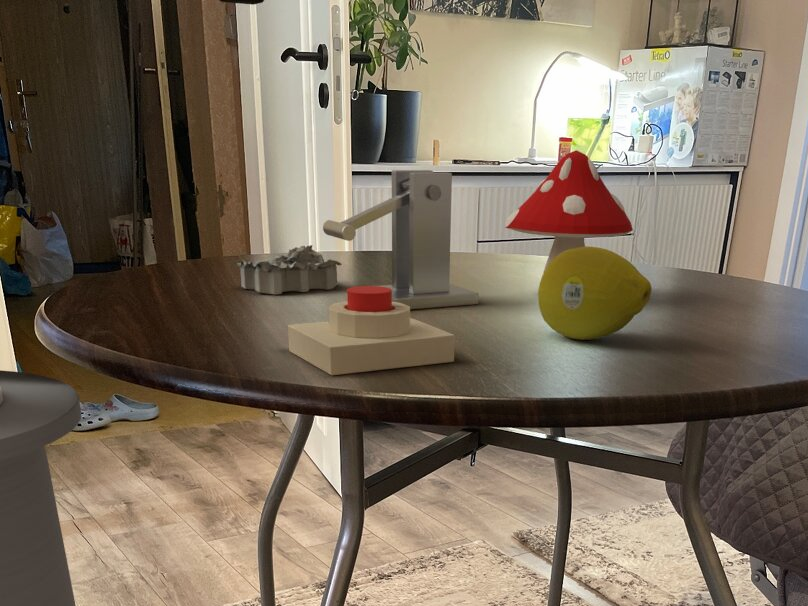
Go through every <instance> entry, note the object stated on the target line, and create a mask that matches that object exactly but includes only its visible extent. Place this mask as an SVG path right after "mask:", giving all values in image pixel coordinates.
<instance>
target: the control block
mask: <svg viewBox="0 0 808 606" xmlns="http://www.w3.org/2000/svg"><path fill="white" fill-rule="evenodd" d="M287 335H288V336H287V337H288V351H289V352H290V353H292V354H294V355H295V356H297V357H299V358H300V359H302V360H304V361H306V362H308V363H309V364H311V365H312V366H314V367H316V368H318V369H320V370H321V371H323V372H325V373H327V374H328V375H330V376H340V375H349V374H357V373H358V374H359V373H367V372H375V371H384V370H385V371H386V370H392V369H402V368H410V367H419V366H420V367H421V366H427V365H438V364H447V363H454V362H455V342H456V341H455V339H456V336H455V334H453V333H451V332H448V331H445V330H443V329H441V328H437V327H435V326H433V325H430V324H427V323H425V322H422V321H420V320H418V319H415V318H413V317H411V310H410V307H409V306H407V305H404V304H402V303H399V302H392V310H390V311H385V312H358V311H351V310H348V302H347V300H343V301H338V302H335V303H331V304H330V306H329V307H328V321H317V322H307V323H304V322H303V323H295V324H293V323H292V324H287Z"/></svg>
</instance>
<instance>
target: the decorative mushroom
mask: <svg viewBox="0 0 808 606" xmlns="http://www.w3.org/2000/svg"><path fill="white" fill-rule="evenodd" d="M625 211H626V210H625V207H624V205H623V203H622V202H621V201H620V199H619V198H618V197H617V196H616V195H615V194H613V193H611V192H610V190H609V188H608V187H607V186H606V185H605V182H604V181H603V179H602V178H601V175H600V174H599V171H598V169H597V167H596V164H595V163H594V162H593V161H592V160H591V158H589V157H588V155H587V154H585V153H583V152H581V151H579V150H577V149H576V150H573V151H571V152H568V153H566V154H565V155H564V156H563V157H561V158H560V159H559V161H558V162H557V164H556V165H555V166H554V167H553V168H552V170H551V171H550V172H549V174H548V176H546V178H543V180H541V181H540V182H539V184H538V185H537V188H536V189H535V191H534V192H533V193H532V194H531V195H530V196H529V197H528V198H527V199H526V201H524V202H523V203H522V204H521V205H520V206H518V208H517V209H516V210H514V211H513V212H511V214H510V215H509V216H508V218H507V219H506V221H505V225H504V228H505V229H508V230H509V229H510V230H512V231H515V232H518V233H523V234H530V235H537V236H545V237H554V239H553V241H552V242H553V243H552V246H551V249H550V252H549V254H548V257H547V260H546V263H545V266H544V269H543V273H544V271H545V269H546V268H547V266H548V265H549V263H550V262H551V261H552V260H553V259H554V258H555V257H557V256H558V255H559V254H560V253H562V252H564V251H566V250H569V249H573V248H578V247H586V245H585V238H586V239H589V238H591V239H593V238H614V237H624V236H626V235H628V234H630V233H631V232H632V231H634V228H633V225H632V222H631V219H629V217H628V216H627V214H626V212H625ZM543 273H542V274H543Z"/></svg>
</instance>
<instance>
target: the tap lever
mask: <svg viewBox="0 0 808 606" xmlns="http://www.w3.org/2000/svg"><path fill="white" fill-rule="evenodd" d="M402 186H403V189H404V192H403V193H401V194H399V195H397V196H395V197H393V198H392V197H391V198H388V199H386V200H385V201H384V200H383V201H382V202H380V203H378V204H376V205H374V206H372V207H370V208H368V209H366V210H363V211H361V212H359V213H358V214H355V215H353V216H350V217H349V218H347V219H345V220H342V221H341V222H339V221H335V220H331V219H328V220H326V221H324V223H323V225H322V230H323V232H324V234H325V235H327V236H330V237H333V238H337V239H341V240H344V241H348V242H351V241H353V240H354V239H355V237H356V235H357V233H356V230H357V229H359V228H362V227H364V226H366V225H368V224H370V223H372V222H374V221H377V220H378V219H380V218H383V217H385V216H386V215H389V214H392V212H393V211H395V210H397V209H399V208H401V207H403V206H405V205H409V203H410V180H408V181H406V182H404V183H402Z"/></svg>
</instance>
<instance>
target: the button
mask: <svg viewBox="0 0 808 606" xmlns="http://www.w3.org/2000/svg"><path fill="white" fill-rule="evenodd" d="M380 286H381V285H358V286H351V287H348V288H347V290H346V293H347V294H346V296H347V299H346V301H347V302H348V310H351V311H358V312H385V311H390V310H392V290H391V289H390V288H386V287H380Z"/></svg>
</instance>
